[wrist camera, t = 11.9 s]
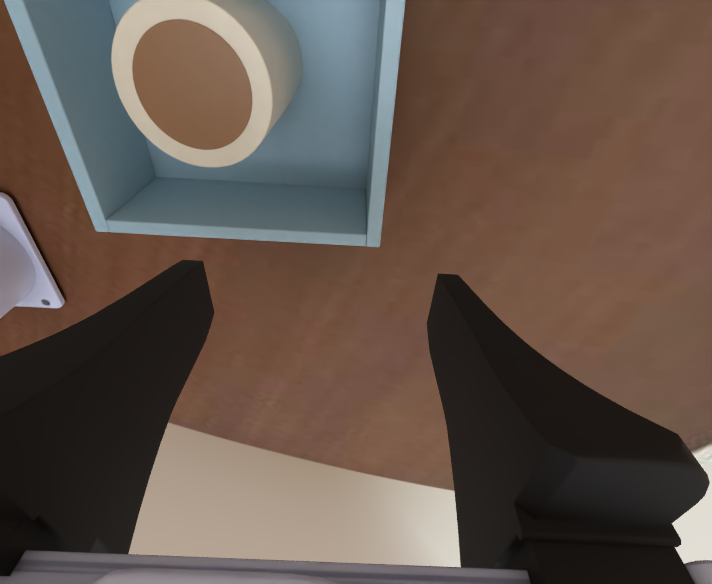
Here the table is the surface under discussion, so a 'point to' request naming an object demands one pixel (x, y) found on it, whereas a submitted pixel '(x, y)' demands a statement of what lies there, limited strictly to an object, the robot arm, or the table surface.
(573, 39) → the table surface
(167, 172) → the light blue open box
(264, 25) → the paper roll
